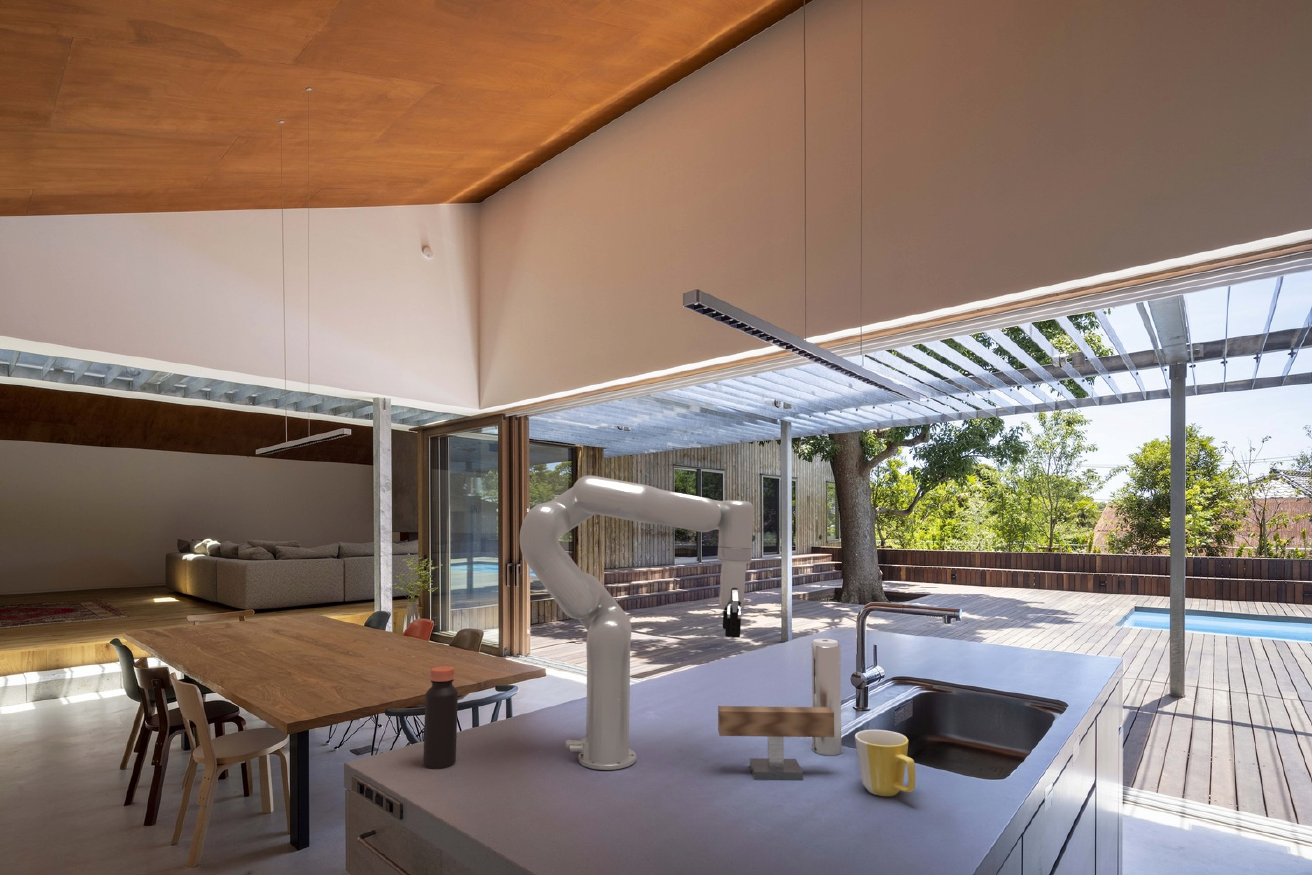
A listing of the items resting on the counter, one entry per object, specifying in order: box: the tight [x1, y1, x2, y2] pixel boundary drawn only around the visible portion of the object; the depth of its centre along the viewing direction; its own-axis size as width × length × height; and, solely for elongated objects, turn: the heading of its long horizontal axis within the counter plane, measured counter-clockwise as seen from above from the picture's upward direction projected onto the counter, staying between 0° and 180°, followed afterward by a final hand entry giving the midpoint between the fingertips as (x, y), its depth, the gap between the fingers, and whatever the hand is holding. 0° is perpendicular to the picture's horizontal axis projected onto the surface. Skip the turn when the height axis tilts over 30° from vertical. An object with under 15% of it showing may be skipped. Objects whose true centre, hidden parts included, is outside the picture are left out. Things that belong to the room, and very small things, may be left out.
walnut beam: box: [717, 705, 834, 738], centre depth 156 cm, size 24×4×5 cm, turn 90°
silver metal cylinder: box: [811, 638, 842, 756], centre depth 170 cm, size 6×6×25 cm
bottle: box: [422, 665, 459, 770], centre depth 160 cm, size 7×7×20 cm
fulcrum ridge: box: [749, 736, 804, 781], centre depth 156 cm, size 10×8×8 cm
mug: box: [854, 729, 916, 797], centre depth 145 cm, size 14×10×10 cm
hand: (731, 632), depth 164 cm, fingers open, 9 cm apart
